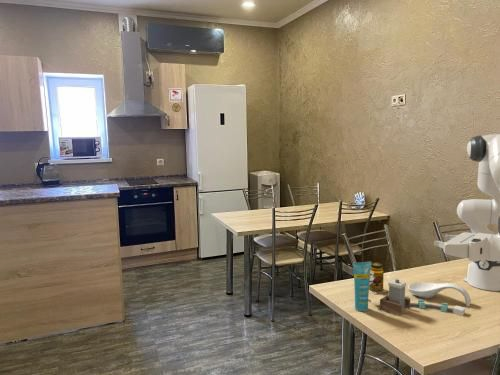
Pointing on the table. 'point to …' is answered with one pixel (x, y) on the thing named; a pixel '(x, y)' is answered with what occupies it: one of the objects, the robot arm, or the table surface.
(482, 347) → the table surface
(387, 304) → the holder
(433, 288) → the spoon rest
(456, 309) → the cable
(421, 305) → the clip
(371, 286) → the condiment
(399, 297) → the grey block with knob
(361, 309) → the tube
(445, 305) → the clip
